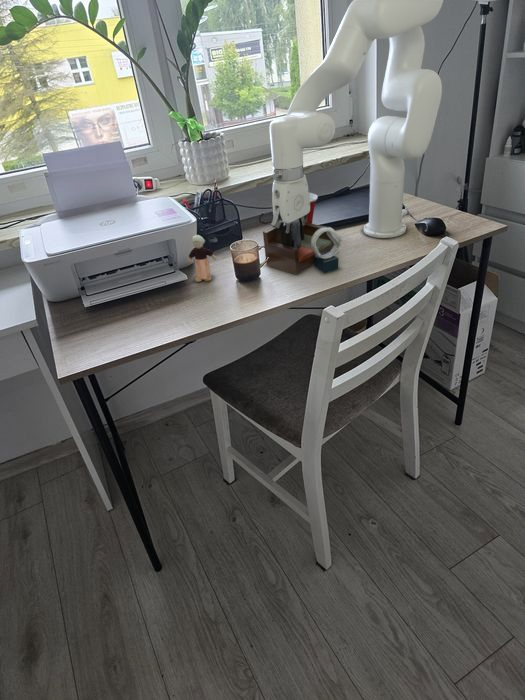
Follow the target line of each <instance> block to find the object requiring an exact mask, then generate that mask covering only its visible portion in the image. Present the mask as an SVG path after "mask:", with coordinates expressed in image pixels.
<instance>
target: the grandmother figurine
mask: <svg viewBox="0 0 525 700" xmlns="http://www.w3.org/2000/svg"><path fill="white" fill-rule="evenodd" d="M191 243H192V245H193V248H192V249H191V251H190V252H189V253H188V259H187V262H188V263H189V264H190V263H192V260H193V258H194V267H195V274H196V277H195V283H199V282H202V281H203V280H204V281H205V282H209V281H212V276H211V275H212V274H211V267H210V262H209V258H208V257H211V258H212V259H211V260H213V261H215V260H217V257H216V256H215V253H214V251H213V250H211V249H209V248H207V247H204V244H205V243H206V240H205V239H204V238H203V236H201V235H199V234H195V235H193V236H192V238H191Z"/></svg>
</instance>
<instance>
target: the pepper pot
mask: <svg viewBox="0 0 525 700" xmlns="http://www.w3.org/2000/svg"><path fill="white" fill-rule="evenodd" d="M285 224H286V223H284V227H285ZM289 232H291V237H292V247H294V248H298V249H299V248H300V247H301V229H300V220H299V219H297V220H295V221H293V222H291V223H290V230H289Z"/></svg>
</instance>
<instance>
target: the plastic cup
mask: <svg viewBox="0 0 525 700" xmlns="http://www.w3.org/2000/svg"><path fill="white" fill-rule="evenodd" d="M309 198H310V212H309V213H308V214H307V222H308V223H312V224H313V220H314V212H315V206H316V202H317V200H318V198H319V196H318V195H317V194H316V193H313V192H309Z"/></svg>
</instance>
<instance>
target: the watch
mask: <svg viewBox="0 0 525 700" xmlns="http://www.w3.org/2000/svg"><path fill="white" fill-rule="evenodd" d="M327 227H329V228H327ZM332 228H333V227H330V226H325V227H323V228H320V229H318V230H317V231H316V232H315V234H313V237H312V239H311V248H312V250H313V251H314V253H315V254H316V255H314V265H313V266H314V267H315V268H316V269H318V270H319V271H320V272H322V273H323V274H327V273H331V272H334V271H337V270H339V257H337V256H335V255H336V254H337V253H338V252H339V250H340V247H341V245H342V243H341V242H342V241H343V240H342V238H341V236H340V235H339V234H338V232H337V231H336V230H335V228H334V229H332ZM324 232H326V234H327V235H328V237H329V238H330V239H331V240H332V241H333V243H334V246H333V248H332V249H331V251H330V252H328V251H327V252H324V253H320V252H319V251H318V248H317V247H316V243H315V242H316V240H317V238H318V237H319V236H320V235H321V234H322V233H324Z"/></svg>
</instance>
